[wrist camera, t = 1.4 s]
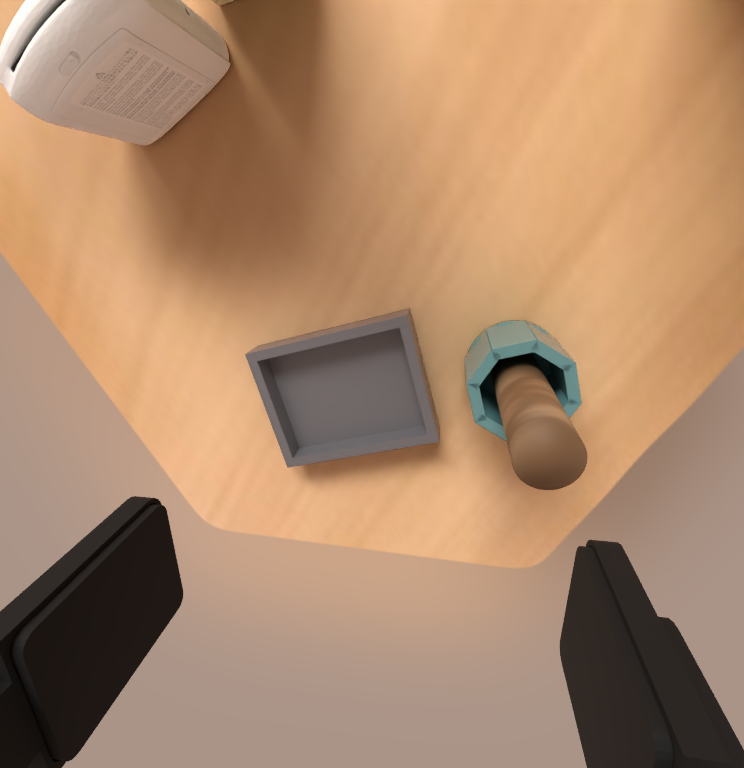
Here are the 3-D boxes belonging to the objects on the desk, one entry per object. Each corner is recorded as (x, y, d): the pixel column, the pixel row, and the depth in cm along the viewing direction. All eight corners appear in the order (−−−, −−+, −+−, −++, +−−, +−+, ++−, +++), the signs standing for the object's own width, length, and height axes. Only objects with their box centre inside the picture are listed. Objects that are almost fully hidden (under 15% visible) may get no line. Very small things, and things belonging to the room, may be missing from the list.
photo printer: (206, 7, 32) (68, -109, 20) (243, 65, 33) (131, -15, 21) (113, 105, 35) (-49, 53, 24) (149, 155, 36) (10, 129, 25)
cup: (552, 310, 35) (572, 330, 29) (565, 397, 37) (587, 432, 31) (457, 332, 37) (458, 355, 31) (475, 413, 39) (479, 449, 33)
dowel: (532, 340, 36) (582, 421, 22) (539, 382, 37) (591, 484, 23) (485, 350, 37) (506, 433, 23) (494, 391, 38) (518, 494, 24)
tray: (409, 308, 37) (407, 315, 35) (439, 428, 40) (439, 441, 38) (257, 346, 40) (245, 354, 38) (296, 453, 44) (287, 467, 41)
